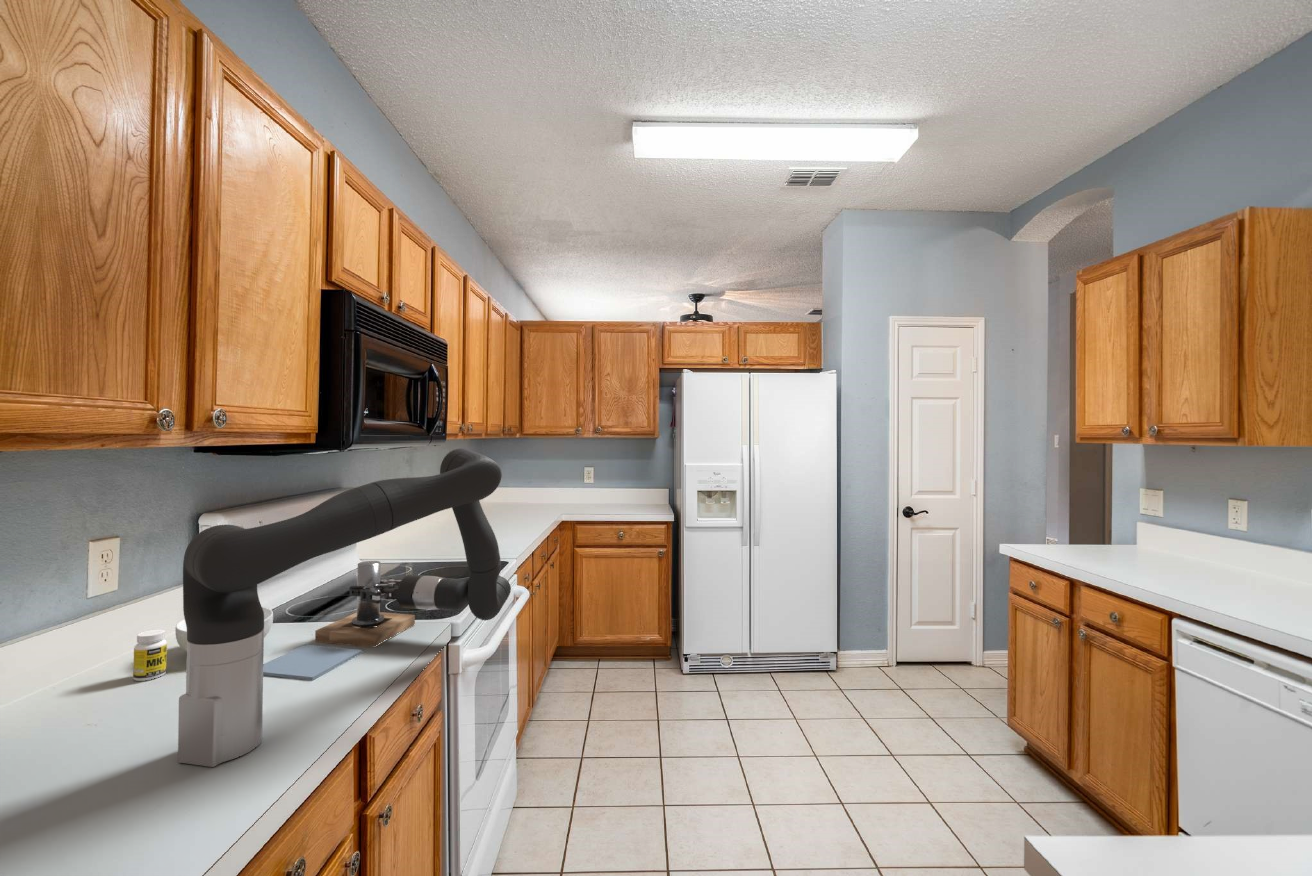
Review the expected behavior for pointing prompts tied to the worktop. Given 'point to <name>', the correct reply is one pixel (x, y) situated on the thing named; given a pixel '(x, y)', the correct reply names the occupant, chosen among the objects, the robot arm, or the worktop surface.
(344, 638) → the frame
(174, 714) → the worktop surface
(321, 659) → the mat
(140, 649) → the supplement bottle
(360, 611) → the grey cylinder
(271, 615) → the cereal bowl
